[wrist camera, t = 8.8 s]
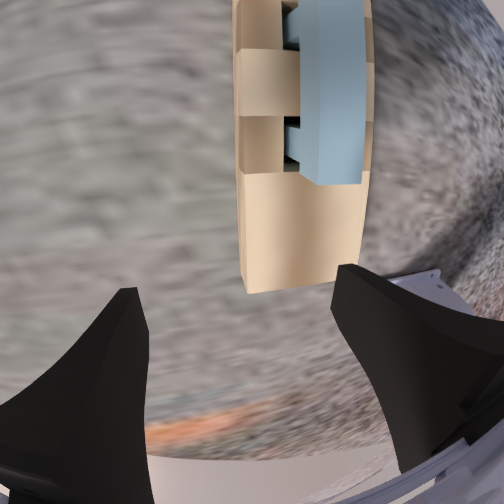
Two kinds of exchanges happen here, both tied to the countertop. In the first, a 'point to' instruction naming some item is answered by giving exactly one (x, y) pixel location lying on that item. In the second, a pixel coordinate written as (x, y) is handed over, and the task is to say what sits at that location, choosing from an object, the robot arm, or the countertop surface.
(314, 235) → the rail
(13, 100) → the countertop surface
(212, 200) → the countertop surface
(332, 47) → the clip
